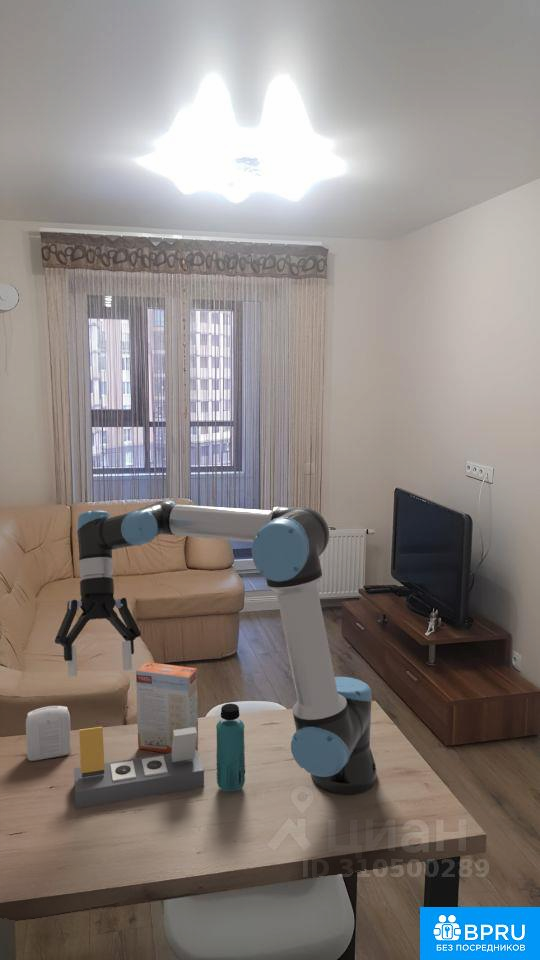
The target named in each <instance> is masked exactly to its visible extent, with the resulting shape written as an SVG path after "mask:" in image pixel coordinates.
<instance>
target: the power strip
mask: <svg viewBox="0 0 540 960" xmlns="http://www.w3.org/2000/svg"><path fill="white" fill-rule="evenodd" d="M104 765H105V770H104V774H101V775H95V776H89V777H83V778H82V773H81V766H79V767H73V777H74V778H73V780H74V781H73V782H74V799H75V809H81V808H87V807H93V805H94V806H99V805H98V804H100V805H104V803H106V804H109V802H111V803H117V802H122V801H127V800H132V799H133V798H134V799H138V798H139V797H140V798H144V797H146V798H147V797H151V796H156V795H162V794H163V795H164V794H168V793H174V792H179V791H185V790H191V789H196V788H202V787H205V769H204V766H203V765H202V761H201V759H200V756H199V752H198V750H197V748H196V749H195V757H194V759H193V760H188V761H181V762H175V763H172V753H162V754H155V755H149V756H143V757H136V758H130V759H124V760H123V759H122V760H118V761H111V762H104ZM116 801H117V802H116Z"/></svg>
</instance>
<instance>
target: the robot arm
mask: <svg viewBox="0 0 540 960" xmlns="http://www.w3.org/2000/svg"><path fill="white" fill-rule="evenodd" d="M76 533H77V540H78V541H77V543H78V558H79V559H78V565H79V567H78V569H79V577H80V578H81V580H80V582H79V591H80V592H79V593H80V600H77V599H71V600H68V601H67V607H66V613H65V615H64V617H63V620H62V622H61V625H60V627H59V629H58V631H57V634H56V636H55V639H54V643H55V644H58V645H60V646H61V647H63V660H64V662H67V672H68V673H67V674H68V675H67V676H68V677H78V663H77V662H78V661H77V660H78V659H77V658H78V657H77V645H76V644H75V645H73V644H74V642H75V641H76V639H77V638H78V636H79V635H80V633H81V632H82V631H83V629H84V627H85V626H86V625H87V624H88V622H89V621H91V620H103V619H106V620H107V621H109V622H110V624H111V625H112V626H113V627H114V629H116V631H117V632H118V633H119V635H120V636H121V637H122V638H123V639H124V641H121V651H122V653H121V654H122V671H131V670H133V663H132V662H133V660H132V655H134V653H135V650H134V649H135V648H134V647H135V644H134V641H135V640H136V638H138V637H139V638H140V637H141V635H142V633H141V631H140V629H139V627H138V625H137V623H136V620H135V619H134V617H133V615H132V613H131V610H130V609H129V607H128V602H127V601H128V600H127V598H126V597H121V598H118V599H115V597H114V593H115V585H114V579H113V577H112V576H113V575H114V566H113V550H117V549H122V548H128V547H134V546H135V547H136V546H137V547H138V546H142V545H143V544H148V543H151V542H152V541H154V540H155V537H158V536H160V535H166V536H167V535H169V536H181V537H192V538H201V539H202V538H203V539H214V540H225V541H236V542H237V541H238V542H248V543H252V545H251V557H252V561H253V564H254V566H255V568H256V570H257V571H258V572H259V573H261V574H262V575H263V577H264V578H265V580H266V581H265V582H266V585H267V588H269V590H272V591H273V592H275V594H276V597H277V604H278V608H279V613H280V618H281V623H282V628H283V633H284V634H283V635H284V638H285V642H286V648H287V654H288V659H289V663H290V669H291V675H292V679H293V684H294V687H295V688H294V689H295V692H296V693H295V695H296V700H297V701H296V702H295V704H294V705H293V707H292V715H293V721H294V722H293V723H294V726H295V733H294V734H293V735H292V737H291V742H290V750H291V754H292V757H293V759H294V760H295V762H296V764H297V765H298V766H299V767H300V768H302V769H304V770H305V771H306V772H307V773H309V774H310V776H311V778H312V781H313V782H314V783H315V784H316V785H317V786H318V787H319V788H321V789H323V790H325V791H327V792H330V793H333V794H339V795H355V794H361V793H364V792H366V791H368V790H369V789H371V788H372V787H373V786H374V785H375V784H376V781H377V765H376V762H375V759H374V756H373V752H372V748H371V746H370V745H371V742H370V741H371V721H372V720H371V719H372V702H373V697H372V688H371V687H370V685H368V683H366V682H364V681H363V680H360V679H357V678H355V677H349V676H348V677H347V676H335V672H334V671H335V670H334V667H333V662H332V656H331V651H330V645H329V641H328V637H327V632H326V631H327V630H326V626H325V620H324V615H323V611H322V610H323V609H322V605H321V600H320V596H319V595H320V594H319V589H318V583H319V582H320V581H321V579H322V578H323V571H322V566H321V562H320V561H321V560H320V556H321V555H322V554H323V553H324V552H325V550H326V549H327V547H328V544H329V540H330V530H329V526H328V523H327V521H326V520H325V517H324V516H322V514H320V513H319V512H318V511H317V510H314V509H312V508H307V507H300V506H299V507H297V506H275V507H273V509H272V510H270V509H269V510H268V509H252V508H240V507H239V508H238V507H236V508H235V507H222V506H221V507H219V506H208V505H207V506H206V505H193V504H192V505H190V504H178V503H176V502H175V501H173V500H167V499H165V500H159V501H157V502H154V503H152V504H150V505H147V506H144V507H140V508H139V509H135V510H133V511H132V510H131V511H130V512H127V513H123V514H119V515H115V516H112V517H111V515H110V513H109V512H108V511H106V510H91V511H90V510H88V511H83V512H81V513H80V514H79V515H78V518H77V530H76ZM115 607H116V609H117V610H118V612H119V615H120V616H121V618H122V620H121V618H120V617H119V616H118V613H117V612H116V611H115V610H114V608H115ZM79 609H81V610H82V613H81V614H80V616H79V617H78V620H77V621H76V623H75V624H74V625H73V627H72V624H73V622H74V619H75V617H76V615H77V611H79ZM71 627H72V629H71Z"/></svg>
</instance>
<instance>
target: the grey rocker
mask: <svg viewBox="0 0 540 960" xmlns="http://www.w3.org/2000/svg"><path fill="white" fill-rule="evenodd" d="M196 736H197V731H196V727H191V728H185V729H178V730H173V742H172V763H175V762H181V761H188V760H193V759H194V757H195V746H196Z"/></svg>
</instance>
